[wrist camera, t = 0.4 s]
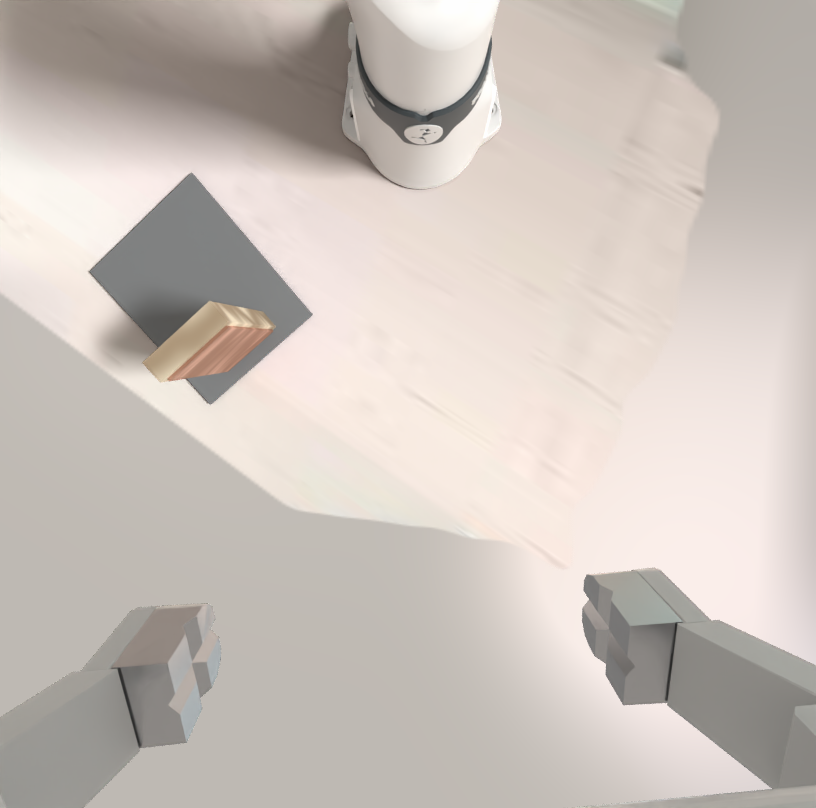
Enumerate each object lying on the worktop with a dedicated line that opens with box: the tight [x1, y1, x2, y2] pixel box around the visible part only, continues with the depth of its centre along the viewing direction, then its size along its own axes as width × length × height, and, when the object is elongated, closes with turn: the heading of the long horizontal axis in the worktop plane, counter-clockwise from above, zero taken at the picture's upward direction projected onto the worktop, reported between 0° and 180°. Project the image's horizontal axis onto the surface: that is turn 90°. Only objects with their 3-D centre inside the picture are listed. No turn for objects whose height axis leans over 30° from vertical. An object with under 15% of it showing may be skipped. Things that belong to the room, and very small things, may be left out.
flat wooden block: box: [142, 301, 276, 383], centre depth 47 cm, size 3×9×14 cm, turn 130°
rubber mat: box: [90, 173, 312, 404], centre depth 53 cm, size 22×18×1 cm
